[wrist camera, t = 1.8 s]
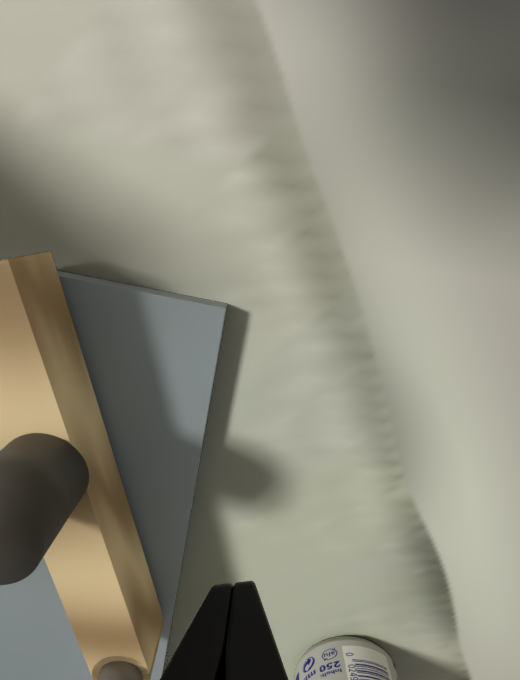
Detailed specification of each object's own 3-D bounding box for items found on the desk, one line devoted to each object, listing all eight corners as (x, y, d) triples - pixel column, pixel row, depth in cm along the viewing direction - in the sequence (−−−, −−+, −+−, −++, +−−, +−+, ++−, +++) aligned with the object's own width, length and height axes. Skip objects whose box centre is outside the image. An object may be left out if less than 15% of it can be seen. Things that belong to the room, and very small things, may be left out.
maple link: (175, 634, 19) (141, 792, 14) (114, 641, 19) (58, 799, 14) (59, 250, 13) (-68, 271, 8) (-25, 263, 14) (-200, 292, 8)
